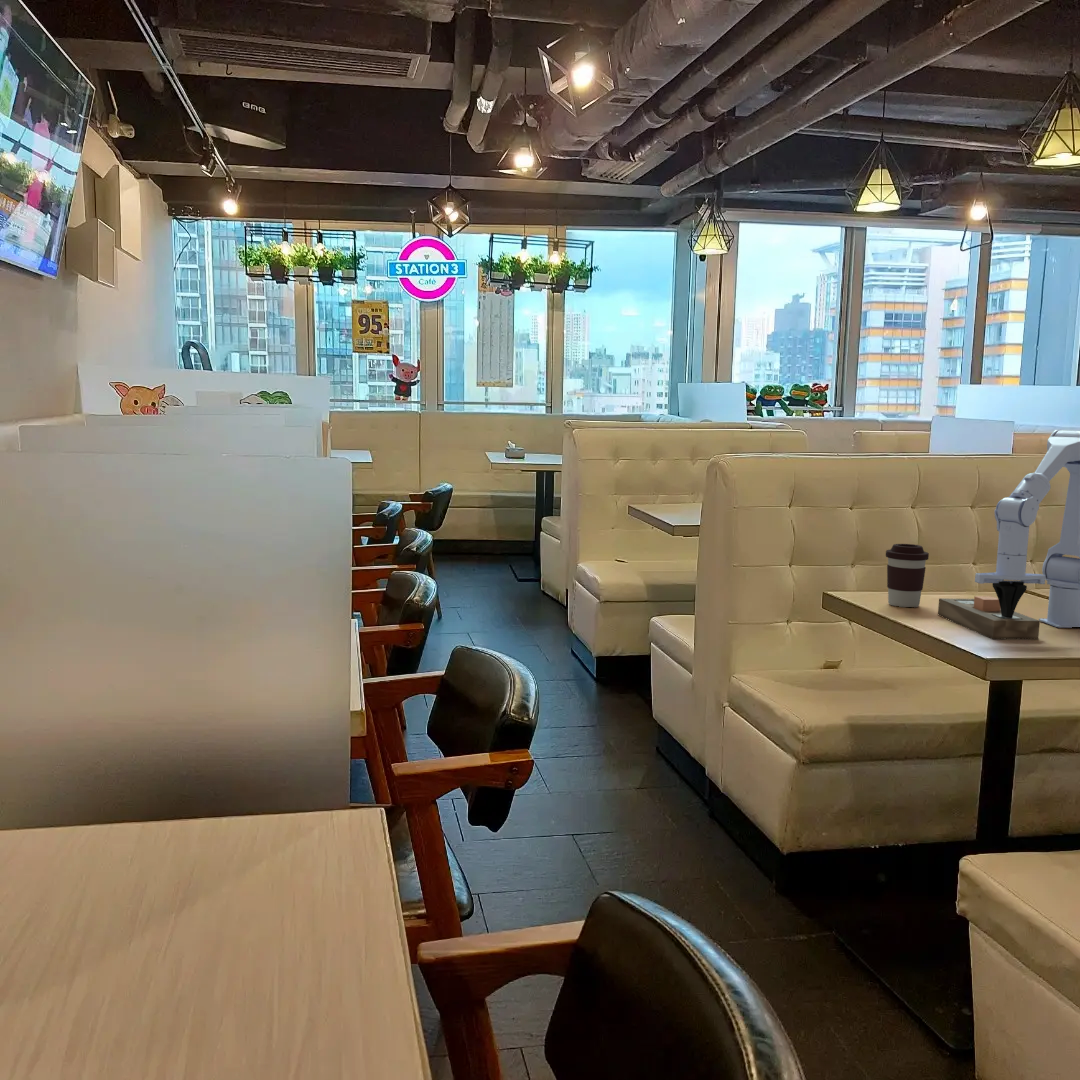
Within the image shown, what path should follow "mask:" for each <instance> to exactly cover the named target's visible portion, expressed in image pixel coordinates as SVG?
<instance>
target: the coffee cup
mask: <svg viewBox="0 0 1080 1080" xmlns="http://www.w3.org/2000/svg"><path fill="white" fill-rule="evenodd" d="M929 556H930V554H929V552H926V551H924V548H923V546H922V545H920V544H912V543H894V544H893V545H892V547H891V548H890V549H886V551H885V557H886V558H887V565H886V573H887V574H886V576H887V577H886V583H887V584H886V585H887V586H886V587H887V588H888V589H887V590H888V591H887V594H888V595H887V596H888V597H887V599H888V600H887V601H888V604H889V605H890V606H893V607H896V606H899V607H898V608H905V607H914V608H918V607H919V606H920V603H921V597H922V596H921V595H922V591H923V589H924V581H925V574H926V562H927V560H929Z"/></svg>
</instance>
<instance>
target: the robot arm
mask: <svg viewBox="0 0 1080 1080" xmlns="http://www.w3.org/2000/svg"><path fill="white" fill-rule="evenodd" d="M1046 451H1047V452H1046V453H1045V455H1044V456H1043V457H1042V460H1041V461H1040V463H1039V464H1038V466H1037V468H1036V469H1035V471H1034V472H1031V473H1027V474H1025V476H1024V477H1023V478H1022V479H1021V481H1020V482H1019V483H1018V485H1017V486H1016V487H1015V489H1014V490H1012V492H1011V493H1010V495H1009V496H1008V497H1007V496H1006V497H1003V498H1002V499H1000V500H999V501H998V502H997V503H996V506H995V509H994V510H993V511H994V513H993V514H994V518H995V521H996V530H997V532H998V542H997V555H996V566H995V567H996V568H995V571H994V572H980V573H979V572H976V573H975V576H974V577H975V578H974V583H978V584H983V585H984V584H992V588H993V590H994V592H995V594H996V596H997V597H996V598H997V599H998V600H999V603H1000V608H1001V615H1002V616H1004V617H1013V614H1014V612H1016V611H1015V610H1016V608H1017V605H1018V603H1019V601H1020V600H1021V598H1022V596H1023V595H1024V593H1026V592H1027V589H1028V587H1027V585H1026V584H1034V585H1035V584H1038V585H1045V584H1047V585H1049V595H1048V604H1047V614H1046V615H1047V616H1046V618H1038V620H1039V621H1040V622H1041V623H1045V624H1048V625H1050V626H1053V627H1056V628H1061V629H1062V628H1065V629H1066V628H1069V629H1070V628H1072V627H1080V430H1062V429H1055V430H1053V431H1052V433H1051V434H1050V435H1049V438H1047V443H1046ZM1063 468H1065V469H1066V470H1067V471H1068V473H1069V480H1068V486H1067V492H1066V498H1065V507H1064V512H1063V518H1062V525H1061V532H1060V539H1059V542H1057V543H1056V544H1055V545H1054V544H1053V546H1050V547H1049V548H1048V549H1047V554H1046V557H1045V560H1044V561H1043V563H1042V568H1041V570H1042V573H1027V571H1026V570H1027V558H1028V545H1029V536H1030V535H1029V533H1030V526H1031V525H1032V524H1033V523H1034V522H1035V521H1036V519H1037V515H1038V511H1039V510H1040V506H1039V505H1040V504H1041V502H1042V501H1043V500H1044V498H1045V497H1046V496H1047V494H1048V493H1049V492H1050V490H1051V483H1050V482H1051V480H1052V479H1053V478H1054V477H1055V476H1056V475H1057V474H1058V473H1059V472H1060V471H1061V470H1062V469H1063ZM1064 555H1067V556H1064ZM1070 556H1071V557H1070ZM1073 556H1074V557H1073ZM1075 556H1076V557H1075ZM1072 629H1073V628H1072Z"/></svg>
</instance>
